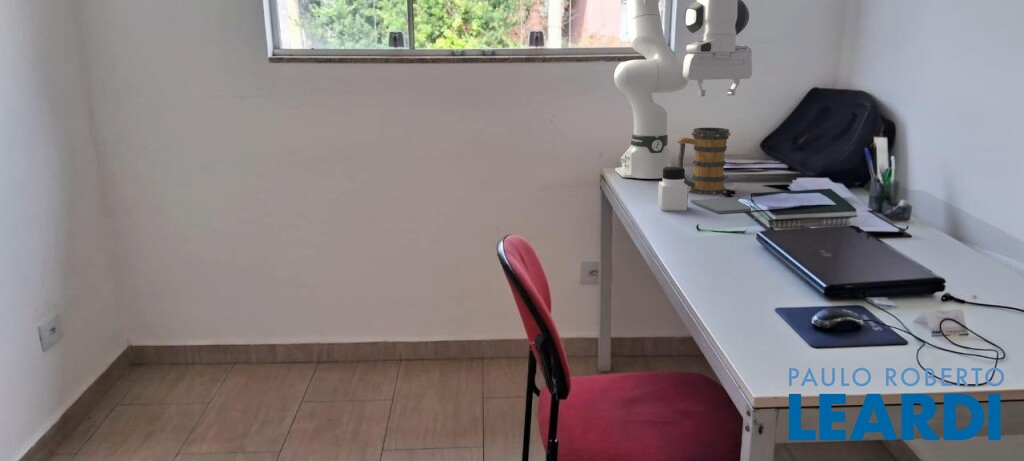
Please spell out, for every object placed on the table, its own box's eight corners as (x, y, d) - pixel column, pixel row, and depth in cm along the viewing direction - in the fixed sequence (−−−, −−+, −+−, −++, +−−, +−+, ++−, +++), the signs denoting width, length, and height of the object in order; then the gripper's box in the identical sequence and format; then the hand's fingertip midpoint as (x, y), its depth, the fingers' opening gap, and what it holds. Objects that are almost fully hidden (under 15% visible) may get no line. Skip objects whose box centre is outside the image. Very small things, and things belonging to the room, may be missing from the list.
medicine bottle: (687, 210, 213) (689, 168, 210) (661, 211, 213) (663, 168, 210) (682, 205, 220) (684, 164, 217) (657, 205, 220) (659, 164, 217)
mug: (735, 196, 232) (739, 131, 227) (681, 198, 230) (684, 132, 225) (719, 189, 245) (723, 126, 240) (668, 190, 243) (670, 127, 238)
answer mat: (690, 202, 224) (690, 200, 223) (738, 199, 228) (739, 196, 227) (718, 213, 209) (718, 211, 208) (769, 210, 212) (769, 207, 212)
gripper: (745, 45, 218) (742, 94, 221) (681, 46, 213) (679, 96, 216) (758, 45, 212) (755, 95, 215) (692, 46, 207) (689, 97, 210)
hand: (716, 95), depth 216 cm, fingers open, 8 cm apart
